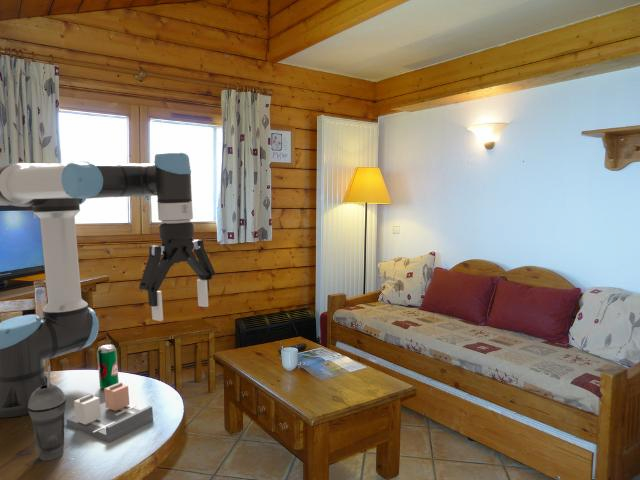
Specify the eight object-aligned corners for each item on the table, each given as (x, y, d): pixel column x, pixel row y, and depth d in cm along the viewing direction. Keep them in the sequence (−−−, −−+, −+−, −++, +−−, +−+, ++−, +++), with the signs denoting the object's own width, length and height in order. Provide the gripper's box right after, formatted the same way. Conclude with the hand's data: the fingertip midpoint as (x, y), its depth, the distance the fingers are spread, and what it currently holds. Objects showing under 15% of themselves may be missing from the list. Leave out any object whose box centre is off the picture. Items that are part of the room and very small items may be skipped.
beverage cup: (45, 446, 109) (37, 360, 107) (77, 445, 109) (69, 359, 107) (24, 464, 102) (15, 372, 100) (58, 464, 102) (50, 372, 99)
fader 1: (75, 420, 117) (73, 398, 116) (91, 413, 120) (89, 392, 119) (85, 424, 114) (83, 401, 114) (101, 417, 118) (99, 395, 117)
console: (63, 426, 118) (62, 412, 118) (113, 404, 130) (112, 391, 129) (106, 444, 109) (105, 429, 109) (155, 418, 121) (154, 405, 120)
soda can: (117, 389, 139) (113, 348, 138) (98, 391, 138) (94, 350, 137) (120, 382, 144) (117, 343, 143) (102, 384, 143) (99, 345, 142)
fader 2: (105, 407, 123) (104, 386, 123) (119, 401, 127) (118, 380, 126) (115, 410, 121) (113, 389, 121) (129, 404, 124) (127, 383, 124)
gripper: (140, 226, 98) (147, 328, 100) (226, 217, 119) (230, 302, 121) (117, 225, 102) (124, 324, 104) (204, 217, 123) (209, 299, 125)
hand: (181, 312), depth 113 cm, fingers open, 13 cm apart
